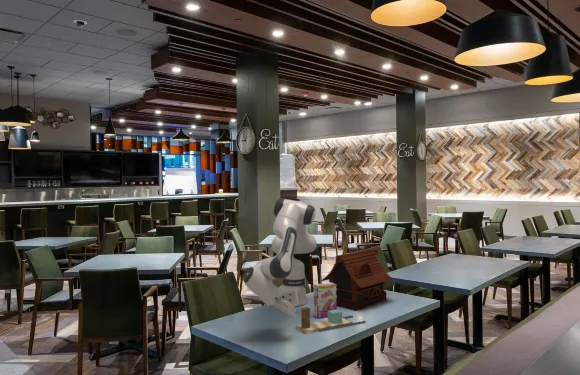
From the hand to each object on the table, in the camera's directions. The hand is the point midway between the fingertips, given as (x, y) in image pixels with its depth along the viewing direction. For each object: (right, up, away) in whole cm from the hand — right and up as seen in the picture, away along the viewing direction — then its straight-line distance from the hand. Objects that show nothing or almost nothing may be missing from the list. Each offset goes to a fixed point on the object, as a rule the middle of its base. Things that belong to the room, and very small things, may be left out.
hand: (291, 314), depth 207 cm
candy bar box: (+18, -8, +24) cm, 31 cm away
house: (+39, -7, +50) cm, 64 cm away
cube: (+21, -7, +10) cm, 24 cm away
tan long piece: (+16, -8, +8) cm, 19 cm away
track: (+22, -8, +11) cm, 25 cm away
